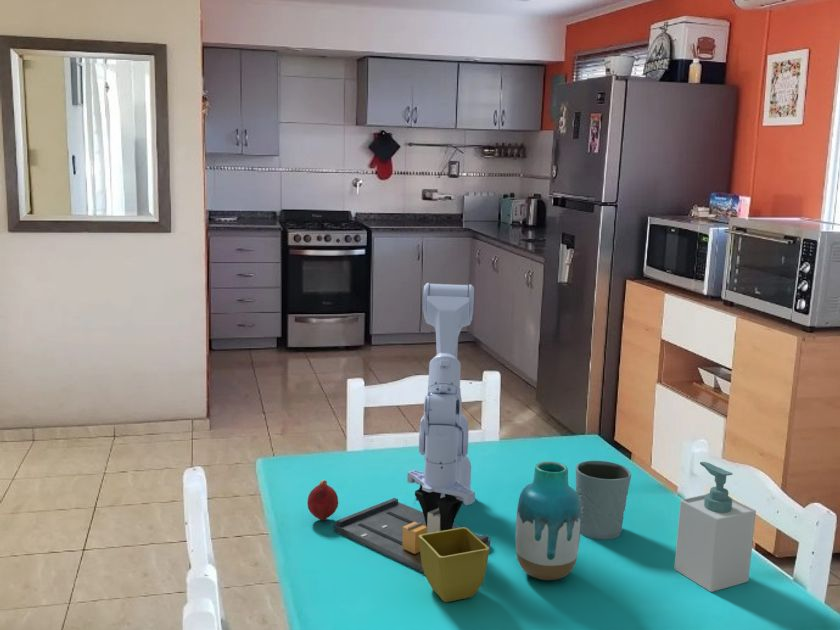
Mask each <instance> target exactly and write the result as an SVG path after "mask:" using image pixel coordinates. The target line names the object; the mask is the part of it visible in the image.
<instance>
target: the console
mask: <svg viewBox="0 0 840 630" xmlns="http://www.w3.org/2000/svg"><path fill="white" fill-rule="evenodd" d="M413 522H417V523H419V522H422V525H424V526H426V523H425V518H424V514H423V511H421V510H419V509H417V508H414V507H411V506H409V505H407V504H405V503H401V502H399V499H398V498H396V497H392V498H390V499H388V500H386V501H383V502H379V503H378V504H375V505H373V506H370V507H367V508H365V509H363V510H360V511H358V512H355V513H352V514H350V515H348V516H345V517H343V518H339V519H336V523H335V524H334V529H333V530H334V532H336V533H338V534H339V535H342V536H344V537H346V538H348V539H351V540H352V541H355V542H357V543H359V544H360V545H363V546H365V547H367V548H369V549H372V550H373V551H376V552H378V553H380V554H382V555H384V556H386V557H388V558H389V559H390V558H391V559H393V560H394V561H396V562H398V563H401V564H403V565H405V566H407V567H410V568H411V569H413V570H416V571H418V572H419V573H422V574H424V575H425V573H424V570H423V567H422V562H421V553H420V552H418V553H416V554H414V553H412V552H410V551H407V550H405V549H403V548H402V540H403V526H406V525H408V524H410V523H413ZM456 528H461V526H460V527H459V526H457V525H455V524H453V527H452V529H456ZM472 533H473V534H474V535H475V536H476V537H477V538H478V539H480V540H481V541H482V542H483V543H484V544H486V545H487V546H488V547H489V548H490V547H491V539H489V535H486V534H482V535H479V534H478V533H474V532H472Z"/></svg>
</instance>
